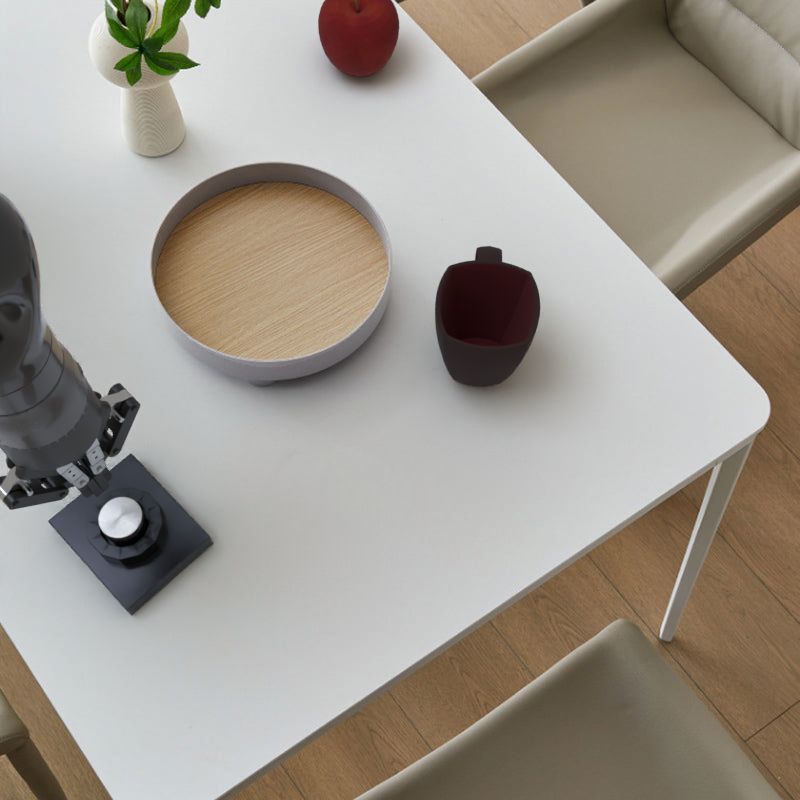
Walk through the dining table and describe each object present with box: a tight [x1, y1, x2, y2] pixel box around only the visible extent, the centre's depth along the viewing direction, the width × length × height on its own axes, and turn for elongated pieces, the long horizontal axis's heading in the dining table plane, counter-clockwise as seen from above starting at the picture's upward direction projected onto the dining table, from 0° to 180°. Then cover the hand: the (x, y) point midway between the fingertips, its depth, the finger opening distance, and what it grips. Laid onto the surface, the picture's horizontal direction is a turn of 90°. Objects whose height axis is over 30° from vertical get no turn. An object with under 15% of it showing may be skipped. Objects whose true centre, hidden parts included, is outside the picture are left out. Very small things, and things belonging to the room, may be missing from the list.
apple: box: [317, 0, 400, 77], centre depth 119 cm, size 10×10×10 cm
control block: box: [47, 452, 214, 616], centre depth 96 cm, size 12×10×4 cm
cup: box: [434, 245, 541, 388], centre depth 102 cm, size 10×14×12 cm
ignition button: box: [98, 497, 147, 545], centre depth 94 cm, size 4×4×2 cm
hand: (96, 485), depth 86 cm, fingers closed
